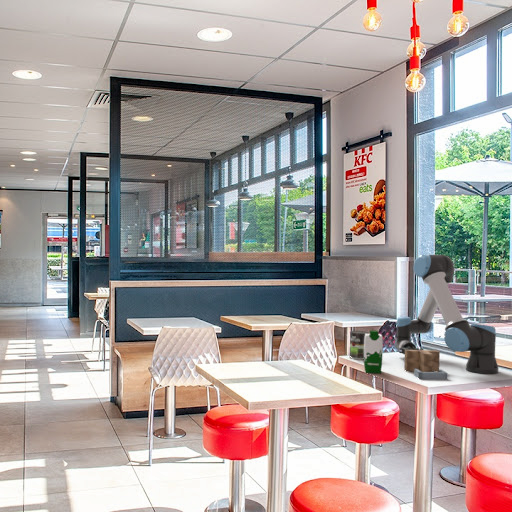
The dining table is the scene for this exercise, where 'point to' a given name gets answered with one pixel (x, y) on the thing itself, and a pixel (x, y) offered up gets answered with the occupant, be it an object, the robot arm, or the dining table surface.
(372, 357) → the milk carton
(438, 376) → the tray
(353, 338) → the coffee can
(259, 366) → the dining table surface
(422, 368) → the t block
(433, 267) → the robot arm
